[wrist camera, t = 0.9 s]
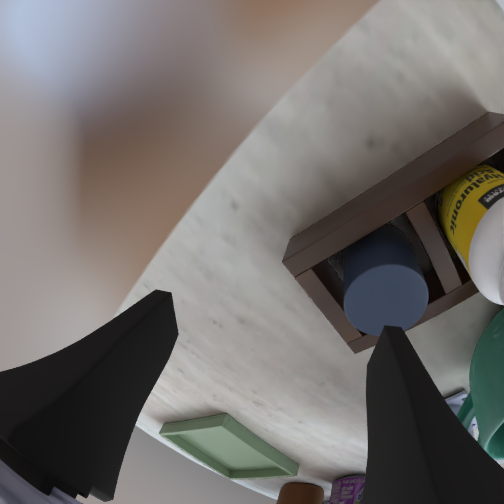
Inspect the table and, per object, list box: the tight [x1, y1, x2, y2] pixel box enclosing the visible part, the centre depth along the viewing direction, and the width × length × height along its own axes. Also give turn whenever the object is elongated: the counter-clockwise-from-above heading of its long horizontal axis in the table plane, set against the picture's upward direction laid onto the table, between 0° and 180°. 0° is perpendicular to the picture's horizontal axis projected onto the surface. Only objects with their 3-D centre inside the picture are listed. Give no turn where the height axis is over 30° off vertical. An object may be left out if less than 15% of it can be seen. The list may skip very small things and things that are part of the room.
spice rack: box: [282, 112, 504, 354], centre depth 16 cm, size 8×16×3 cm, turn 130°
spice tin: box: [344, 225, 429, 336], centre depth 17 cm, size 5×5×5 cm
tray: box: [159, 413, 299, 479], centre depth 36 cm, size 15×13×2 cm
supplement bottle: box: [435, 163, 504, 305], centre depth 11 cm, size 5×5×10 cm
